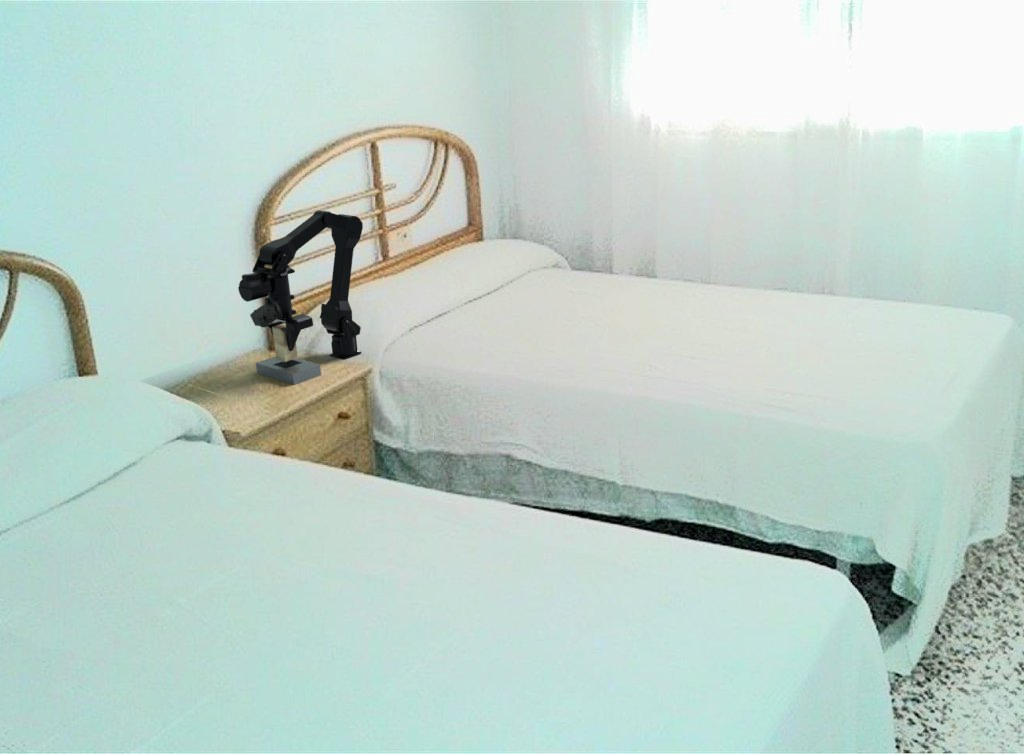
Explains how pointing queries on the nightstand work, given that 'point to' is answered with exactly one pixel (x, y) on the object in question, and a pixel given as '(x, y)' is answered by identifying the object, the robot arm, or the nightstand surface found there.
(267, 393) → the nightstand surface
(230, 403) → the nightstand surface
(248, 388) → the nightstand surface
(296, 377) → the grey slotted block
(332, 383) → the nightstand surface
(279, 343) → the ash peg
